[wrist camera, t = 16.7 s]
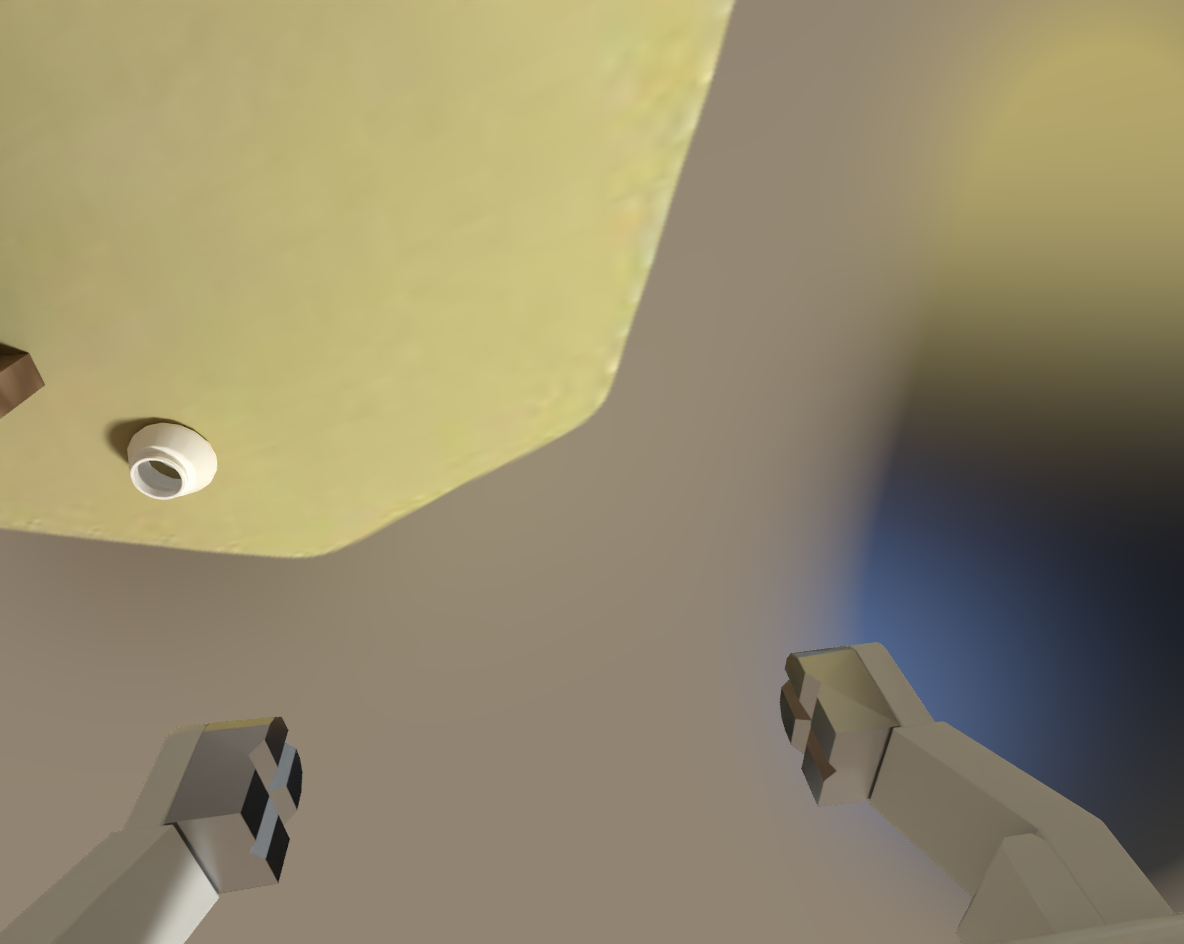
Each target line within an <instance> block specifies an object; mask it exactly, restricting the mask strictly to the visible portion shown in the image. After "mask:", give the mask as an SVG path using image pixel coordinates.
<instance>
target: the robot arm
mask: <svg viewBox="0 0 1184 944" xmlns="http://www.w3.org/2000/svg"><path fill="white" fill-rule="evenodd" d="M785 671H786V673H787V675H788V677H789V680H788V682H786V683H785V684H784V685H783V686H782V687H781V695H780V709H781V718H782V721H783V725H784V728H785V732H786V734H787V736H788V739H789V741H790V744H791V745H792V746H794V747H795V748H796V749H798V750H799V751H800V752H802V753H803V754H804V759H803V763H802V768H801V769H802V772H803V774H804V776H805V779H806V781H807V783H808V785H809V788H810V790H811V792H812V794H813V797H814V799H815V801H816V804H817V806H828V805H837V804H845V803H854V802H862V801H870V802H869V804H870V805H871V806H872V807H873V808H875V809H876V810H877V811H878V812H879V813H880V814H881V815H882V816H883V817H885V818H886V819H887V820H888V821H889V822H890V823H891V824H892V825H893V826H894V827H895V828H897V829H898V830H899V831H900V832H901V833H902V834H903V835H904V836H906V837H907V838H908V839H909V840H910V841H911V842H912V843H913V844H914V845H915V846H916V847H918V848H919V849H920V850H921V851H922V852H923V853H924V854H925V855H926V856H928V857H929V858H930V859H931V860H932V861H933V862H934V863H935V864H936V865H937V866H939V867H940V868H941V869H942V870H943V871H944V872H945V873H946V874H947V875H948V876H950V877H951V878H952V879H953V880H954V881H955V882H956V883H958V885H960V886H961V887H962V888H963V889H964V890H965V891H966V892H967V893H969V894H970V895H971V896H972V897H973V898H972V900H971V902H970V904H969V906H968V908H967V910H966V911H965V913H964V915H963V917H962V919H961V921H960V923H959V926H958V928H957V931H956V934H957V936H958V938H959V940H960V942H961V944H1184V912H1182V913H1176V914H1175V913H1174V912H1173V911H1172V909H1171V908H1170V907H1169V906H1168V904H1167V903H1166V902H1165V901H1164V899H1163V898H1162V897H1161V895H1160V894H1159V893H1158V892H1157V890H1156V889H1155V888H1154V887H1153V885H1152V884H1151V883H1150V882H1149V880H1148V879H1147V878H1146V876H1145V875H1144V874H1143V873H1142V871H1141V870H1140V869H1139V868H1138V866H1137V865H1136V864H1135V862H1134V861H1133V860H1132V859H1131V857H1130V856H1129V855H1128V854H1127V852H1126V851H1125V850H1124V849H1123V847H1122V846H1121V845H1120V844H1119V842H1118V841H1117V840H1116V838H1115V837H1114V836H1113V834H1112V833H1111V832H1110V831H1109V829H1108V828H1107V827H1106V826H1105V824H1104V823H1103V822H1102V821H1101V820H1100V819H1098V818H1096V817H1095V816H1093V815H1092V814H1090V813H1089V812H1087V811H1085V810H1084V809H1082V808H1081V807H1079V806H1078V805H1076V804H1074V803H1073V802H1071V801H1070V800H1068V799H1066V798H1065V797H1063V796H1061V795H1060V794H1058V793H1057V792H1055V791H1054V790H1052V789H1050V788H1049V787H1047V786H1045V785H1044V784H1043V783H1041V782H1039V781H1038V780H1036V779H1034V778H1033V777H1031V776H1030V775H1028V774H1027V773H1025V772H1023V771H1022V770H1020V769H1019V768H1017V767H1015V766H1014V765H1012V764H1011V763H1009V762H1007V761H1006V760H1004V759H1003V758H1001V757H999V756H998V755H996V754H995V753H993V752H991V751H990V750H988V749H987V748H985V747H984V746H982V745H980V744H979V743H977V742H976V741H974V740H972V739H971V738H969V737H968V736H966V735H964V734H963V733H961V732H959V731H958V730H957V729H955V728H953V727H952V726H950V725H949V724H947V723H945V722H934V720H933V719H932V717H931V716H930V714H929V713H928V711H927V710H926V708H925V707H924V705H923V704H922V702H921V701H920V700H919V698H918V696H917V695H916V693H915V692H914V690H913V689H912V687H911V686H910V684H909V683H908V681H907V680H906V678H905V677H904V675H903V674H902V672H901V671H900V669H899V668H898V666H897V665H896V663H895V662H894V660H893V659H892V657H891V656H890V654H889V653H888V652H887V650H886V648H885V647H884V646H883V645H881V644H880V643H878V642H877V643H868V644H860V645H852V646H840V647H833V648H825V649H817V650H810V651H803V652H795V653H790V655H789V656H788V657H787V659H786V664H785ZM287 734H288V728H287V726H286V724H285V722H284V720H283V718H282V717H269V718H258V719H248V720H237V721H226V722H216V723H208V724H199V725H189V726H181V727H176V728H175V729H174V730H173V731H172V732H171V733H170V734H169V735H168V736H167V737H166V739H165V741H164V743H163V745H162V747H161V750H160V752H159V754H158V756H157V758H156V760H155V762H154V764H153V766H152V768H151V771H150V773H149V775H148V777H147V779H146V781H145V783H144V786H143V787H142V789H141V792H140V794H139V796H138V798H137V800H136V802H135V804H134V806H133V808H132V811H131V813H130V815H129V817H128V819H127V821H126V823H125V825H124V827H123V829H122V831H118V832H112V833H110V834H109V835H108V836H107V837H106V838H105V839H103V840H102V841H101V842H100V843H99V844H98V845H97V846H96V847H95V848H93V849H92V850H91V851H90V852H89V853H88V854H87V855H86V856H85V857H83V858H82V859H81V860H80V861H79V862H78V863H77V864H76V865H75V866H74V867H72V868H71V869H70V870H69V871H68V872H67V873H66V874H65V875H63V876H62V877H61V878H60V879H59V880H58V881H57V882H56V883H55V884H53V885H52V886H51V887H50V888H49V889H48V890H47V891H46V892H45V893H44V894H42V895H41V896H40V897H39V898H38V899H37V900H36V901H35V902H34V903H32V904H31V905H30V906H29V907H28V908H27V909H26V910H25V911H23V912H22V913H21V914H20V915H19V916H18V917H17V918H16V919H15V920H14V921H12V922H11V923H10V924H9V925H8V926H7V927H6V928H5V929H3V930H2V931H1V932H0V944H184V942H185V941H186V940H187V938H188V937H189V936H190V934H191V933H192V932H193V931H194V929H195V928H196V927H197V925H198V924H199V923H200V922H201V920H202V919H203V918H204V916H205V915H206V914H207V912H208V911H209V910H210V908H211V907H212V906H213V905H214V903H215V902H216V900H218V898H219V895H218V894H220V893H226V892H232V891H238V890H243V889H249V888H255V887H261V886H267V885H273V884H278V883H279V879H280V876H281V872H282V868H283V864H284V860H285V856H286V852H287V848H288V845H289V841H290V838H289V836H288V834H287V832H286V829H285V827H284V825H285V823H286V822H287V821H288V820H289V819H290V818H291V817H292V816H293V815H294V813H295V812H296V811H297V809H298V805H299V801H300V796H301V792H302V773H303V772H302V766H301V760H300V757H299V754H298V752H297V749H296V748H294V747H293V746H291V745H289V744H287V743H286V742H285V741H286V737H287Z"/></svg>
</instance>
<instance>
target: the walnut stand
mask: <svg viewBox="0 0 1184 944" xmlns="http://www.w3.org/2000/svg"><path fill="white" fill-rule="evenodd" d="M44 385H45V384H44V382H43V380H42V378H41V376H40V374H39V372H38V370H37V368H36V366H35V364H34V362H33V360H32V358H31V356H30V354H29V353H26V354H12V355H0V419H1V418H2V417H3V416H5V415H6V414H7V413H9V412H10V411H11V410H13V409H14V408H15V407H17V406H18V405H19V404H21V403H22V402H23V401H25V400H26V399H27V398H29V397H30V396H31V395H32V394H34V393H35V392H36V391H38V390H39V389H40V388H42V387H43V386H44Z"/></svg>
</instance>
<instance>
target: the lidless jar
mask: <svg viewBox="0 0 1184 944" xmlns="http://www.w3.org/2000/svg"><path fill="white" fill-rule="evenodd" d="M127 453H128V461H129V468H130V476H131V480H132V482H133V484H134V485H135V487H136V488H137V489H138V490H139V491H141V492H142V493H144V494H145V495H147V496H149V497H152V498H156V499H172V498H175V497H178V496H182V495H186V494H190V493H193V492H197V491H199V490H201V489H202V488H204V487H205V486H206V485H208V484H209V483H210V482H211V481H212V479H213V477H214V475H215V473H216V471H217V459H216V455H215V453H214V451H213V449H212V448H211V446H210V444H209V443H208V442H207V441H206V440H205V439H204V438H202V437H201V436H200V435H199V434H198V433H196V432H195V431H192V430H190V429H188V428H186V427H183V426H181V425H177V424H169V423H158V424H153V425H148V426H145V427H144V428H143V429H141V430H140V431H139V432H137V433H136V434H134V436H133V437H132V438H131V441H130V443H129V446H128V448H127ZM149 460H156V461H161V462H162V463H163V464H165V465H166V466H168V467H170V468H173V469H175V470H176V471H177V472H178V473H179V474H180V476H181V479H175V478H171V477H168V476H166V475H163V474H161V473H160V472H158V471H157V470H156V469H155V468H153V467H152V466H151V464H150V462H149Z"/></svg>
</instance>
